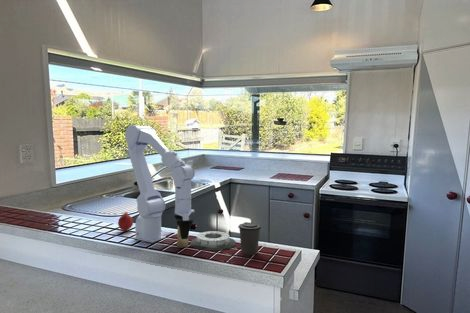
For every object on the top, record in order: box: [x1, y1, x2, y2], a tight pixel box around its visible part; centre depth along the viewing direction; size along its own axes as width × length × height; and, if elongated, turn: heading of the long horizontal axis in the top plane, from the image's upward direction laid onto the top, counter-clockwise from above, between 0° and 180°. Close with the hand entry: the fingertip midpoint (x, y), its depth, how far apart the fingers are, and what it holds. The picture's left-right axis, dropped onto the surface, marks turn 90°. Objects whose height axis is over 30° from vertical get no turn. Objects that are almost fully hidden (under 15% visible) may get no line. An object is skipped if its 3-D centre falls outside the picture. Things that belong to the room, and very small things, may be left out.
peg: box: [176, 226, 189, 248], centre depth 121 cm, size 4×4×7 cm
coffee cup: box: [237, 221, 262, 256], centre depth 115 cm, size 8×8×10 cm
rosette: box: [190, 230, 237, 252], centre depth 124 cm, size 17×17×3 cm
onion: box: [117, 211, 134, 232], centre depth 138 cm, size 6×6×8 cm
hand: (183, 235), depth 121 cm, fingers open, 7 cm apart
